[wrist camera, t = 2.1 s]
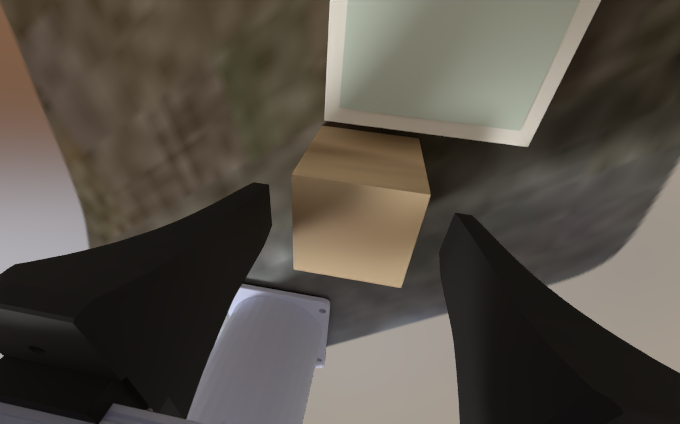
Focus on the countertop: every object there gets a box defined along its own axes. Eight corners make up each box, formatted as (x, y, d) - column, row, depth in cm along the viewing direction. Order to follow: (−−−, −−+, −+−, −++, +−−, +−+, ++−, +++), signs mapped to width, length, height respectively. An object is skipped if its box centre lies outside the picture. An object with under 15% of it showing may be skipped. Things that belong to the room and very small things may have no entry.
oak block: (398, 216, 16) (401, 288, 12) (318, 204, 16) (293, 269, 12) (419, 137, 13) (431, 195, 9) (322, 124, 13) (291, 174, 9)
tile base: (507, 127, 12) (528, 147, 10) (333, 105, 13) (323, 120, 11) (627, -147, 8) (701, -197, 6) (351, -163, 8) (340, -213, 6)
